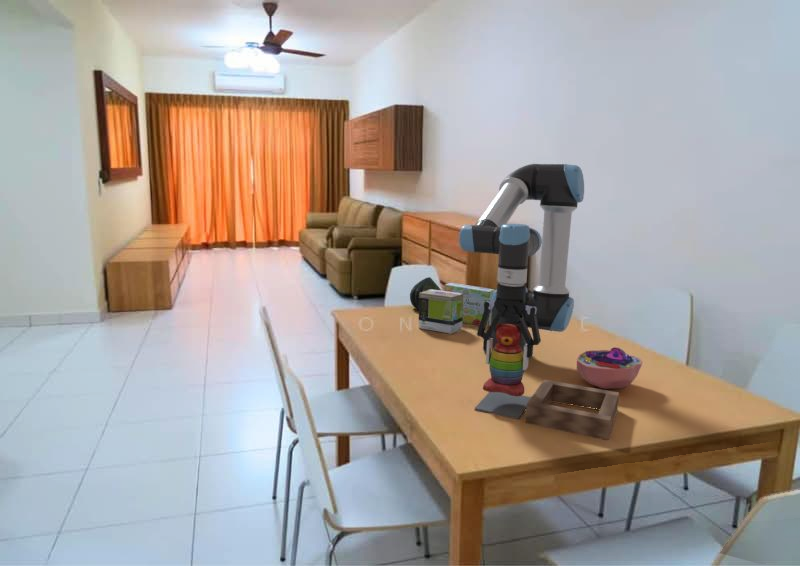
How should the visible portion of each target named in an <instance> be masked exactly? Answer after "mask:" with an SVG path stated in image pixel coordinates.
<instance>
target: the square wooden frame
mask: <svg viewBox="0 0 800 566" xmlns="http://www.w3.org/2000/svg"><path fill="white" fill-rule="evenodd" d="M619 396H620V392H618V391H614V390H613V391H611V390H608V389H602V388H593V387H589V386H584V385H577V384H571V383H567V382H566V383H565V382H560V381H556V380H555V381H554V380H549V379H543V380H542V381H541V383H540V385H539V386H538V388H537V389H536V390H535V392H534V393H533V394H532V396H530V397H531V399H530V400H529V401H528V403H527V404H526V410H525V419H524V420H525V421H524V422H525V424H529V425H534V426H539V427H544V428H546V429H553V430H557V431H563V432H568V433H572V434H577V435H582V436H585V437H586V436H587V437H591V436H592V438H595V437H596V438H595V439H600V438H601V440H605V439H606V441H609V438H610V436H609V435H611V432H612V428H613V426H612V425H614V423H613V422H615V420H614V419H616V416H615V415H617V413H618V406H619V399H620V397H619ZM552 402H553V403H558V402H559V404H563V403H565V404H564V405H568V404H573V405H572V406H574V405H578V406H577V407H579V406H584V407H591V408H595V409H596V408H597V409H600V410H598V413H594V412H588V411H584V410H578V409H573V408H568V407H563V406H557V405H552V404H551V403H552ZM584 407H583V408H584ZM595 409H594V410H595ZM616 412H617V413H616Z"/></svg>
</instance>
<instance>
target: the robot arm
mask: <svg viewBox="0 0 800 566" xmlns="http://www.w3.org/2000/svg"><path fill="white" fill-rule="evenodd" d="M584 195H585V180H584V174H583V170H582V169H581V167H580V166H579V165H576V164H567V163H562V164H561V163H554V164H553V163H547V164H546V163H530V164H526V165H523V166H522V167H521V166H520V167H519V168H517V169H515V170H514V171H512V172H510V173H509V174H508V175H507V176H506V177H505V178H504V179H503V180H502V181H501V183H500V184H499V188H498V192H497V194H496V195H495V196H494V198H493V199H492V201H490V203H489V205H488V207H487V208H486V209H485V210H484V212H483V213H482V215H481V216H480V217H479V219H478V220H477V222H475V224H474V225H473V224H465V225H463V226H462V227H461V228H460V231H459V235H458V244H459V247H460V249H461V250H463V251H465V252H471V253H480V254H491V255H492V254H493V255H498V261H497V263H498V264H497V278H496V279H497V282H498V283H497V285H496V289H494V290H495V291H494V293H493V298H492V302H491V301H489V300H488V301H486V302H485V303H484V313H483V316H482V319H481V322H480V325H478V328H477V332H476V336H478V337H480V338H482V340H483V343H482V344H483V347H482V349H483V351H484V354H485V364H486V365H490V364H489V362H490V357H491V353H492V350H493V348H494V346H495V345H496V344H498V342H497V339H496V332H497V328H496V326H497V324H503V325H504V324H512V325H519V328H520V330H521V331H520V332H521V340H520V342H519V344H518V345H520V347H521V348H522V351H523V370H524V371H526V370H528V368H529V359H530V358H532V357H533V355H534V353H533V352H534V346H537V345H539V344H541V341H542V340H541V333H540V330H542V331H549V332H557V333H559V332H560V333H562V332H564V331H565V330H567V328H568V326H569V324H570V322H571V318H572V316H573V312H574V307H575V304H574V303H575V299H574V298H572V297H570V290H569V289H568V288H567V286H566V283H567V282H566V281H567V280H566V279H567V269H568V258H569V249H570V248H569V245H570V237H571V236H570V235H571V225H572V224H571V223H572V214H573V212H574V211H575V210H576V209H578V203H582V202H583V200H584V198H585V197H584ZM529 200H531V201H532V200H534V201H540V203H539V206H540V208H541V209H542V211H543V213H544V214H543V223H542V225H543V227H542V236H541V234H540V232H539V231H538V230H537V229H534V228H531V227H530V226H529V225H527V224H522V223H508V222H509V221H510V219H511V218H512V216H513V215H514V213H515V212H516V210H517V209H518V207H519V206H520V205H521V204H524V203H525V202H526V201H529ZM539 250H541V251H540V258H539V261H540V262H539V274H538V275H539V276H538V283H537V284H536V285H535V287H534V288H532V292H529V290H528V288H527V286H526V284H527V281H528V279H527V277H528V264H529V263H528V261H529V257H531V256H533V255H535V254H536V253H537V252H538V251H539ZM491 309H492V311H491ZM490 312H491V325H490V326H489V327H486V325H487V322H488V318H489V315H490ZM486 328H488V329H487V330H486ZM529 329H531V332H530V330H529ZM485 330H486V332H485ZM531 333H532V334H531Z"/></svg>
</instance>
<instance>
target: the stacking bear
mask: <svg viewBox="0 0 800 566" xmlns="http://www.w3.org/2000/svg"><path fill="white" fill-rule="evenodd" d="M496 328H497V332H496V339H497V342H498V344H496V345H495V346H494V348H493V350H492V353H491V357H490V362H489V364H488V365H489V373H490V378H488V379H487V380H486V381H484V383H483V386H482V390H483V391H485V392H488V393H489V392H501V393H506V394H509V395H511V396H524V394H525V384H524V383H523V382H522V381H523V377H524V373H525V370H523V351H522V348H521V347H520V345H518V344H519V342H520V340H521V332H520V331H521V330H520V328H519V325H512V324H504V325H503V324H497V326H496Z"/></svg>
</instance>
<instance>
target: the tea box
mask: <svg viewBox="0 0 800 566" xmlns="http://www.w3.org/2000/svg"><path fill="white" fill-rule="evenodd" d="M462 321H463V293H457V292H449V291H445V290H442V289H441V290H434V289H430V290H427V291H424V292H420V293H419V309H418V328H419V329H423V330H429V331H432V332H433V331H434V332H441V333H444V334H452V335H453V334H454V333H457V332H458V331H461V330H462V329H463V322H462Z"/></svg>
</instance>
